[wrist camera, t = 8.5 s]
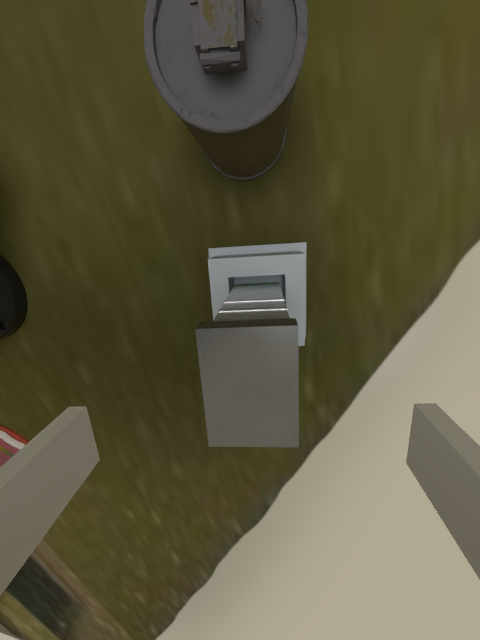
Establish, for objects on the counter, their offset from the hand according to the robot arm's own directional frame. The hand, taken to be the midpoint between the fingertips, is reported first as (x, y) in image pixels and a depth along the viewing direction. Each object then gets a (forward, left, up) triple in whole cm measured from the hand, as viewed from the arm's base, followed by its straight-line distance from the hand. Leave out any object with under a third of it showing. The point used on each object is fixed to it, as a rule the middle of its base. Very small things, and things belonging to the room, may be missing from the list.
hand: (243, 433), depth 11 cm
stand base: (0, 0, -29) cm, 29 cm away
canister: (-1, +20, -30) cm, 36 cm away
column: (0, 0, -22) cm, 23 cm away
